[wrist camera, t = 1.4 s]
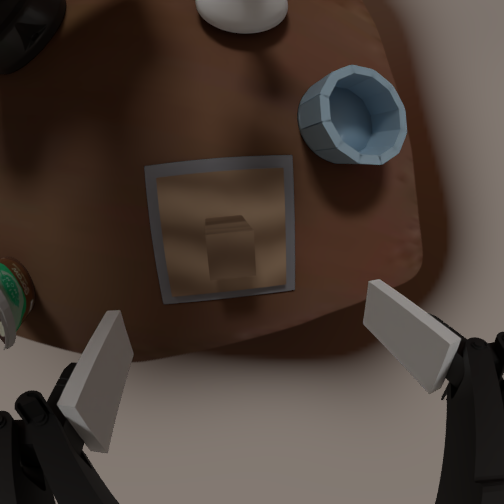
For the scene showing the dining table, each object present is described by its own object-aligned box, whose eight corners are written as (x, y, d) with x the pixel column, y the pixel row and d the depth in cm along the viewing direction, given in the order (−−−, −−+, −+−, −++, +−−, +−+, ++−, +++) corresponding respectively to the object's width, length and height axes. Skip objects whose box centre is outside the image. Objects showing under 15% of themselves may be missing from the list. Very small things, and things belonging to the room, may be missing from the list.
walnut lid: (157, 177, 29) (138, 180, 20) (280, 167, 31) (309, 168, 22) (173, 292, 33) (164, 333, 24) (283, 280, 35) (308, 316, 26)
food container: (54, 296, 31) (20, 333, 21) (37, 317, 31) (6, 353, 21) (6, 230, 26) (-37, 251, 17) (-8, 256, 27) (-47, 280, 17)
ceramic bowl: (294, 78, 28) (315, 58, 21) (369, 88, 29) (400, 77, 23) (299, 163, 31) (323, 162, 25) (375, 165, 33) (408, 167, 26)
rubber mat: (144, 166, 28) (144, 166, 28) (291, 155, 31) (292, 155, 30) (163, 302, 33) (163, 304, 33) (293, 288, 36) (294, 289, 35)
